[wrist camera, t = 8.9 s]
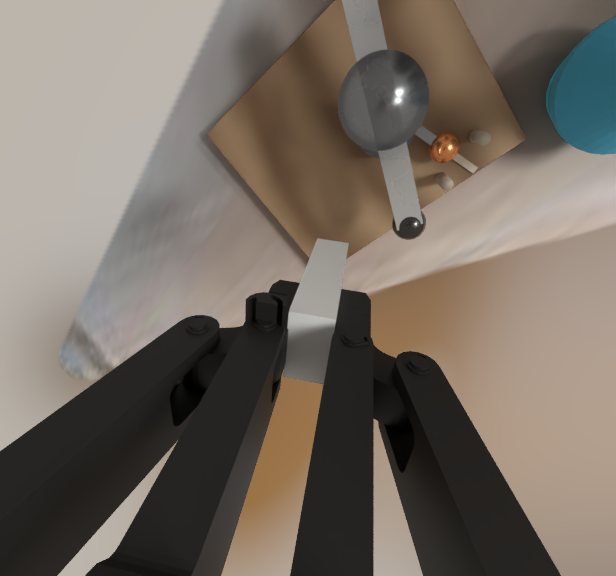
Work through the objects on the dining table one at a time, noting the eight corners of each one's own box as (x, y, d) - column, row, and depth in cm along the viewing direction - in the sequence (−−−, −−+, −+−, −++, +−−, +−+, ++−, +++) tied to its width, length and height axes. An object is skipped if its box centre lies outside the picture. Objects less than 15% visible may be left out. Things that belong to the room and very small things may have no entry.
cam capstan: (306, -30, 26) (287, -71, 20) (420, -88, 24) (439, -155, 18) (374, 225, 35) (376, 253, 28) (464, 200, 32) (487, 224, 26)
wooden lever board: (408, -68, 26) (416, -102, 22) (517, 136, 31) (542, 142, 27) (214, 132, 35) (192, 137, 31) (324, 266, 40) (319, 287, 36)
